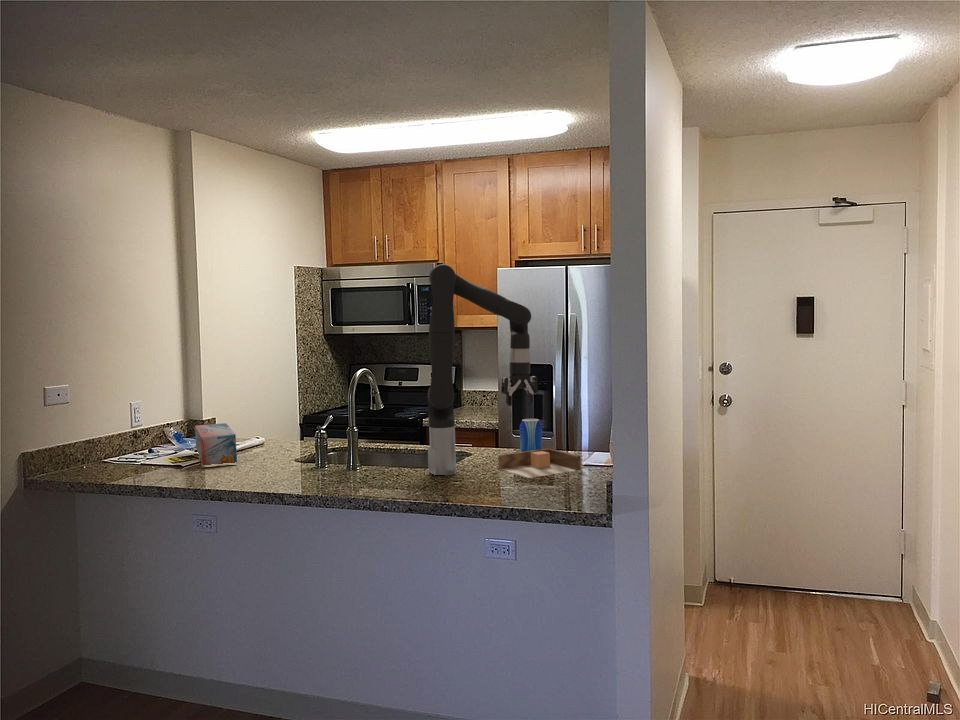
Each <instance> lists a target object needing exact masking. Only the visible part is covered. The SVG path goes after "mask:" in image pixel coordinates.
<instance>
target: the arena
mask: <svg viewBox="0 0 960 720" xmlns="http://www.w3.org/2000/svg"><path fill="white" fill-rule="evenodd" d="M539 451H544V452H548V453H550V467H544V468H536V467H532V466H531V453H532V452H539ZM497 456H498V469H499V470H503V471H505V472H508V473H511V474H513V475H514V474H515V475H517V476H522V477H524V478H527V479H531V478H532V479H533V478H537V477H543V476H544V477H545V476H550V475H555V474H557V475H558V474H565V473H569V472H575V473H574V474H578V473H579V474H581V473H582V471H581V469H582V468H581V467H582V464H581V455H578V454H575V453H569V452H565V451H561V450H558V449H552V448H549V447H548V448H542V449H539V450H531V451H524V452H520V451H518V452H510V453H503V454H498V455H497Z"/></svg>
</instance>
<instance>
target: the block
mask: <svg viewBox="0 0 960 720" xmlns="http://www.w3.org/2000/svg"><path fill="white" fill-rule="evenodd" d="M531 466H532V467H536V468H544V467H550V453H548V452H544V451H539V452H532V453H531Z"/></svg>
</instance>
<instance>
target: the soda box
mask: <svg viewBox="0 0 960 720" xmlns="http://www.w3.org/2000/svg"><path fill="white" fill-rule="evenodd" d="M194 434H195V435H194V438H195V449H196V448H197V451H198V453H199V457H200V461H201V464H202V465H211V464H223V463H235V462H237V463H238V453H237V438H236V437H237V436H236V432H234V431H233V430H232V429H231V428H230V425H228V424H227V422H225V423H223V422H222V423H210V424H200V425H199V424H198V425H194ZM200 461H199V462H200ZM201 464H200V465H201Z"/></svg>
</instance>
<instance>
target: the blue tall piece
mask: <svg viewBox="0 0 960 720" xmlns="http://www.w3.org/2000/svg"><path fill="white" fill-rule="evenodd" d="M542 428H543V427H542V424H541V422H540V419H538V418H524V419H522V420H521V422H520V424H519V444H520V445H519V446H520V447H519V449H520V450H519V452H524V451H531V450H539V449H543V439H542V438H543V437H542V435H543V431H542Z"/></svg>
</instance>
